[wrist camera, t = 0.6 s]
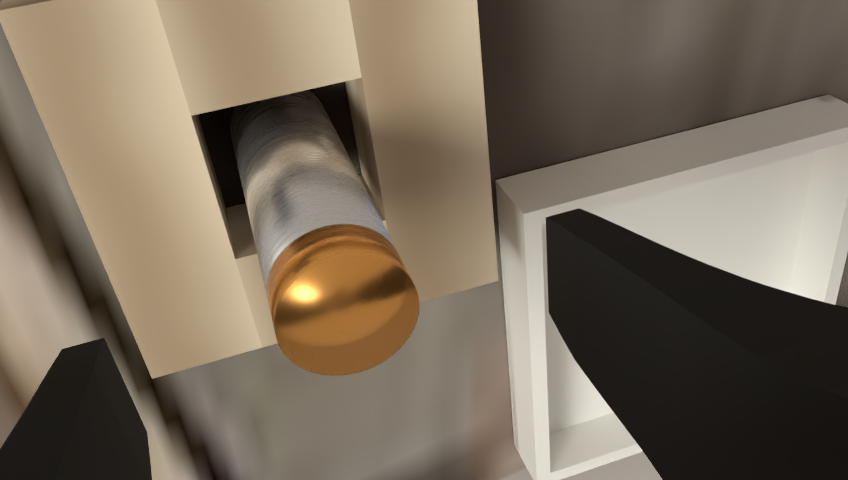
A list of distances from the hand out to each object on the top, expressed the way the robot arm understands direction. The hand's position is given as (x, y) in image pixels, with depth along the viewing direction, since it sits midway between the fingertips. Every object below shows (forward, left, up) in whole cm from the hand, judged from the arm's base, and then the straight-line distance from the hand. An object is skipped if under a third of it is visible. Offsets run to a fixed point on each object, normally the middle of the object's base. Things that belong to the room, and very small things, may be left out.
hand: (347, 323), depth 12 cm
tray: (-11, +9, -8) cm, 16 cm away
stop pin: (0, 0, -8) cm, 8 cm away
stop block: (0, 0, -8) cm, 8 cm away
